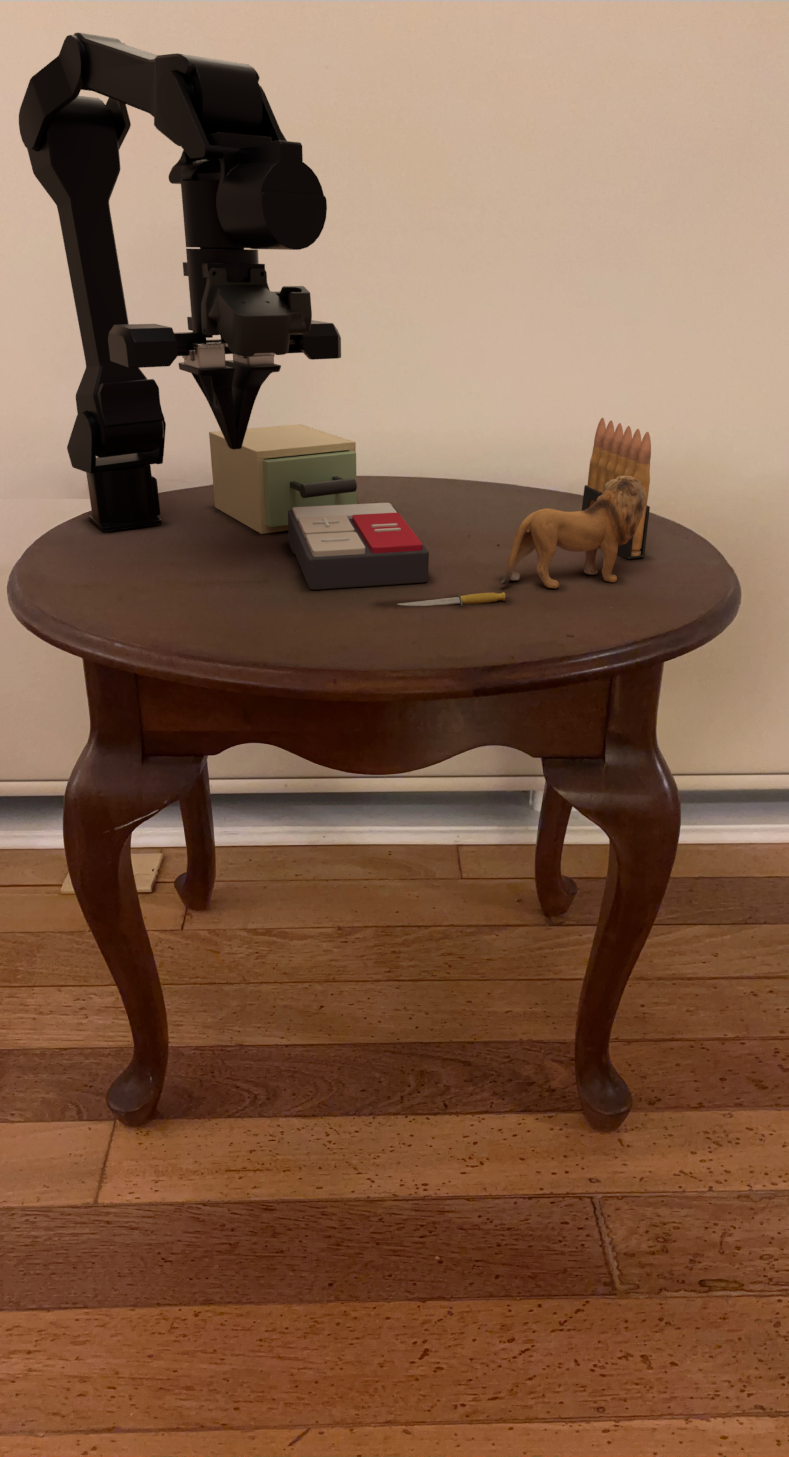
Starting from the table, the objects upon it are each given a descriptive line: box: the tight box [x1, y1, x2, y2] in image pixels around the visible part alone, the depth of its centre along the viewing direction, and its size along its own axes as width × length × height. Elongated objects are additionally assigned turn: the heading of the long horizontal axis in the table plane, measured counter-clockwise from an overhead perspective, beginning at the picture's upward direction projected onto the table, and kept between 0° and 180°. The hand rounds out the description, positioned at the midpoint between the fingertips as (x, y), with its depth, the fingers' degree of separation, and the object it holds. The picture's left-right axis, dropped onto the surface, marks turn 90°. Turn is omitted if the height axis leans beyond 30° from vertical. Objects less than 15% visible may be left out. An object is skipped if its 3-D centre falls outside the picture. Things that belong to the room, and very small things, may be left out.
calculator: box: [287, 502, 430, 591], centre depth 89 cm, size 11×4×15 cm
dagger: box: [397, 591, 508, 608], centre depth 79 cm, size 11×1×2 cm
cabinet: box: [208, 423, 357, 535], centre depth 105 cm, size 14×12×9 cm
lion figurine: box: [499, 476, 646, 589], centre depth 83 cm, size 15×5×9 cm, turn 116°
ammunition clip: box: [581, 417, 652, 560], centre depth 93 cm, size 11×2×12 cm, turn 17°
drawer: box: [263, 451, 358, 527], centre depth 102 cm, size 17×10×7 cm, turn 31°
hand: (235, 448), depth 81 cm, fingers closed
